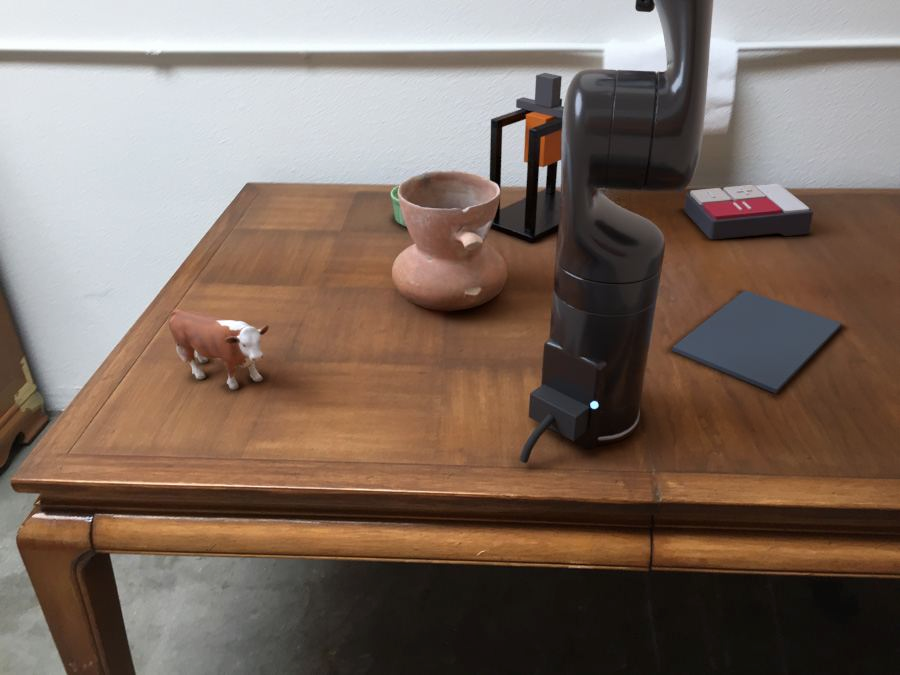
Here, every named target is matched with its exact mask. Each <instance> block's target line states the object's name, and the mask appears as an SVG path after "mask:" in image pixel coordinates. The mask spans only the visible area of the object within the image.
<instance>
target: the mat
mask: <svg viewBox="0 0 900 675" xmlns="http://www.w3.org/2000/svg"><path fill="white" fill-rule="evenodd" d="M842 324H843V323H842V322H840V321H837V320H834V319H831V318H828V317H825V316H822V315H819V314H816V313H815V312H811V311H807V310H804V309H802V308H799V307H796V306H793V305H790V304H787V303H784V302H781V301H779V300H775V299H772V298H770V297H767V296H764V295H762V294H761V295H760V294H759V293H755V292H752V291H750V290H746V289H745V290H743V291H742V292H740V293H739V294H738V295H737V296H735V297H734V298H732V299H731V300H730V301H729V302H728V303H727V304H725V305H724V306H722V308H720V309H719V310H718V311H716V312H715V313H714V314H713V315H711V316H710V317H709V318H707V319H706V320H705V321H704V322H702V323H701V324H700V325H699V326H697V327H696V328H694V329H693V330H692V331H691V332H689V334H687V335H686V336H684V337H683V338H682V339H681V340H679V341H678V342H677V343H676V344H674V345H673V346H672V350H671V351H672V352H674V353H677V354H679V355H681V356H684V357H686V358H689V359H691V360H693V361H696V362H698V363H700V364H703V365H706V366H707V367H710V368H713V369H715V370H717V371H719V372H721V373H724V374H727V375H729V376H732V377H734V378H737V379H739V380H741V381H744V382H747V383H749V384H751V385H754V386H755V387H759V388H761V389H763V390H766V391H768V392H770V393H772V394H776V395H777V393H778V392H779V391H780V390H782V388H784V386H785V385H786V384H787V383H788V382H789V381H790V380H791V379H792V378H793V377H794V376H795V375H796V374H797V373H798V372H799V371H800V370H801V369H802V368H803V367H804V366H805V365H806V363H807V362H808V361H809V360H811V359H812V358H813V356H815V354H817V352H818V351H819V350H820V349H821V348H822V347H823V346H824V345H825V344H826V343H827V342H828V341H829V340H830V339H831V338H832V337H833V336H834V335H835V334H836V333H837V332H838V331H839V330H840V329H841V328H842Z"/></svg>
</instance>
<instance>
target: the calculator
mask: <svg viewBox="0 0 900 675" xmlns="http://www.w3.org/2000/svg"><path fill="white" fill-rule="evenodd" d="M683 209H684V210H683V211H684V213H685V214H686V215H687V216H688V218H690V220H692V222H694V224H695V225H696V226H697V227H698V228H699V229H700V230H701V231H702V233H703V234H704V235H705V236H706V237H707V238H708V239H709V240H722V239H734V238H735V239H736V238H743V237H752V236H764V235H774V234H780V235H782V236H784V237H790V236H791V237H792V236H802V235H803V236H804V235H808V234H809V233H810V229H811V224H812V221H813V220H812V219H813V214H814V211H813V210H812V209H811V208H810V207H809V206H808V205H807V204H805V203H804V202H802V201H801V200H800V199H799V198H798V197H796V196H795V195H794V194H793V193H791V192H790V191H789V190H788V189H786V188H785V187H783V186H782V185H781V184H780V183H770V184H759V185H754V184H746V185H735V186H725V187H723V189H722V188H720V187H715V188H704V189H703V188H702V189H694V190H690V192H687V193H685V200H684V208H683Z"/></svg>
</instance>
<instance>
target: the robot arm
mask: <svg viewBox="0 0 900 675" xmlns="http://www.w3.org/2000/svg"><path fill="white" fill-rule="evenodd" d="M714 1H715V0H635V5H634V6H635V7H634V9H635V11H637V12H641V13H651V12H653V11H654V10H655V9H656V12H657V14H658V15H657V16H658V18H659V21H660V26H661V29H662V30H661V31H662V35H663V40H664V46H665V55H666V56H665V57H666V69H665V70H664V71H660V70H659V71H655V70H633V69H632V70H630V69H610V68H609V69H608V68H607V69H606V68H604V69H603V68H589V69H588V68H587V69H583V70H579V71H578V72H577V73H576V74H575V75H574V76H573V77H572V79H571V81H570V83H569V85H568V87H567V90H566V94H565V98H564V103H563V107H564V109H563V117H562V138H561V160H560V166H561V167H560V192H561V199H560V215H559V227H558V230H557V238H556V245H555V246H556V248H555V259H554V273H553V287H552V298H551V311H550V324H549V338H548V339H547V340H546V341H545V342H544V344H543V355H542V366H541V384H540V385H539V387H537V388H536V389H534V390H533V391H531V392H530V393H529V400H528V404H529V405H528V418H529V419H531V420H533V421H535V422H537V423H539V424H538V425H537V426H536V427H535V429H534V430H533V431H532V433H531V434H530V435H529V437H528V438H527V440H526V442H525V444H524V446H523V448H522V451H521V454H520V456H519V459H518V460H519V461H520V462H521V463H524V464H528V462H529V459H530V457H531V454H532V451H533V449H534V447H535V445H536V444H537V442H538V441H539V439H540V438H541V437H542V435H543V434H544V433H545V432H546V431H547V430H548V429H550V430H551V431H553V432H555V433H557V434H558V435H560V436H562V437H564V438H566V439H568V440H570V441H572V442H574V443H576V444H578V445H579V446H581V447H583V448H585V449H587V450H592V449H594V448H595V447H596V446H599V445H608V444H614V443H617V442H620V441H623V440H625V439H627V438H628V437H630V436H631V435H632V434H634V432H635V431H636V430H637V428H638V426H639V422H640V416H641V410H640V409H641V402H642V396H643V389H644V383H645V377H646V370H647V364H648V358H649V350H650V346H651V338H652V332H653V326H654V320H655V313H656V306H657V302H658V294H659V288H660V284H661V275H662V271H663V263H664V256H665V250H666V240H665V236H664V233H663V231H662V230H661V229H660V227H658V226H657V225H656V224H655V223H654V222H652V221H651V220H650V219H648V218H646V217H644V216H642V215H640V214H638V213H635V212H633V211H631V210H628V209H626V208H624V207H623V206H620V205H619V204H617V203H615V202H614V201H612V200H611V199H610V198H608V197H607V196H606V195H605V194H604V193H603V192H602V191H601V190H614V191H631V192H644V193H660V194H661V193H662V194H663V193H665V194H671V193H672V194H673V193H680V192H682V191H684V190H686V188H687V187H688V186H689V185H690V183H691V182H692V180H693V178H694V176H695V174H696V171H697V167H698V163H699V159H700V155H701V150H702V144H703V135H704V128H705V127H704V126H705V116H706V104H707V92H708V77H709V66H710V65H709V64H710V53H711V52H710V50H711V38H712V37H711V36H712V23H713V11H714Z"/></svg>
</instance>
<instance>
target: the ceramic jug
mask: <svg viewBox="0 0 900 675" xmlns="http://www.w3.org/2000/svg"><path fill="white" fill-rule="evenodd" d="M399 185H400V186H399ZM399 185H398V186H399V188H398V199H399V204H400V208H401V212H402V215H403V218H404V221H405V224H406V226H407V227H406V228H407V231H408V233H409V235H410V237H411V239H412V240H413V242H414V243H412V244H411V245H409V246H408V247H406V248H405V249H404V250H402V251H401V252H400V253H399V254H398V256H397V257H396V259H395V260H394V262H393V265H392V268H391V278H392V282H393V284H394V287H395V288H396V290H397V291H398V293H399V294H400V295H401V296H402V297H404V298H405V300H408V301H409V302H410V303H413V304H415V305H417V306H419V307H423V308H425V309H430V310H436V311H461V310H467V309H471V308H476V307H478V306H481V305H483V304H485V303H487V302H489V301H491V300H492V299H493V298H495V297H496V296H497V295H498V294H499V293H500V292H501V291H502V289H503V288H504V286H505V284H506V281H507V278H508V267H507V263H506V261H505V259H504V257H503V256H502V255H501V254H500V253H499V252H498V251H497V250H495V249H494V248H493V247H491V246H490V245H488V244H486V243H484V242H486V238H487V236H488V234H489V232H490V230H491V228H490V227H491V225H492V222H493V220H494V217H495V214H496V211H497V208H498V204H499V199H500V200H501V190H500V188H499V186H498V185H497V184H496V183H494V182H492V181H491V180H490V178H485V177H484V176H481V175H479V174H478V175H477V174H475V173H470V172H465V171H459V170H444V171H443V170H432V171H426V172H422V173H420V174H417V175H413V176H410V177H408V178H407V179H405V180H404V181H402V182H401V183H400V184H399Z"/></svg>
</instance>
